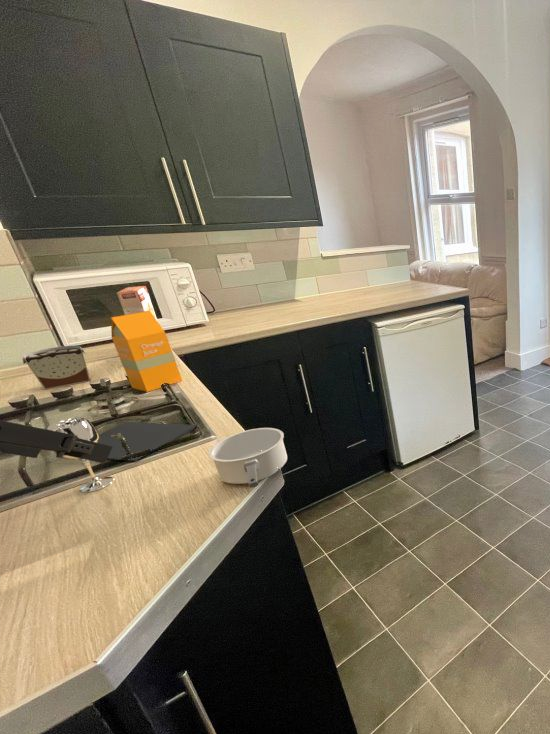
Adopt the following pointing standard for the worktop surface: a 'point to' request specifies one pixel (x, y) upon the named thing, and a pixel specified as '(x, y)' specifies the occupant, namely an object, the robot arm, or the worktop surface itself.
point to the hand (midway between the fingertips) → (72, 452)
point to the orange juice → (144, 351)
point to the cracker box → (135, 300)
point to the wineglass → (86, 432)
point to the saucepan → (249, 455)
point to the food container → (58, 366)
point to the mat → (142, 437)
